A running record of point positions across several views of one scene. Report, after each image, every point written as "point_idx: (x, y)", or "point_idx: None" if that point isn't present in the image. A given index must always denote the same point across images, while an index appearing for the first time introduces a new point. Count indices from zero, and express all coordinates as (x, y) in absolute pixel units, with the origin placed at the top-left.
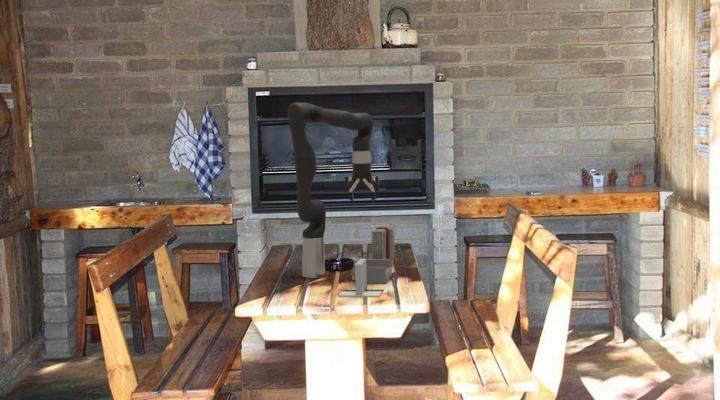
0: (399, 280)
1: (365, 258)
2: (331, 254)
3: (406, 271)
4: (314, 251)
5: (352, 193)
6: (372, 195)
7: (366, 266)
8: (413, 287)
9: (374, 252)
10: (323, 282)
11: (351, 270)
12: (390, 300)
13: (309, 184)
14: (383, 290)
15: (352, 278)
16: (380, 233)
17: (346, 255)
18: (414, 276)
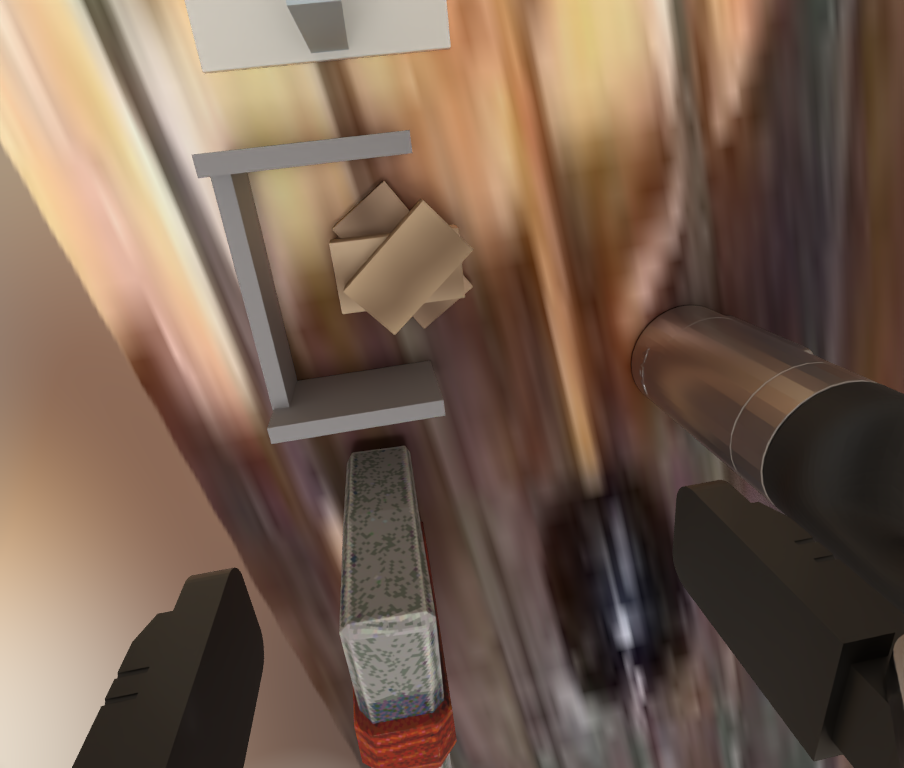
0: (218, 341)
1: (293, 3)
2: (676, 740)
3: (268, 543)
4: (759, 354)
5: (820, 619)
6: (156, 692)
7: (418, 386)
8: (47, 164)
9: (399, 502)
10: (609, 218)
11: (470, 247)
12: None
13: None
14: (194, 30)
15: (454, 225)
16: (362, 607)
17: (617, 740)
18: (179, 449)
